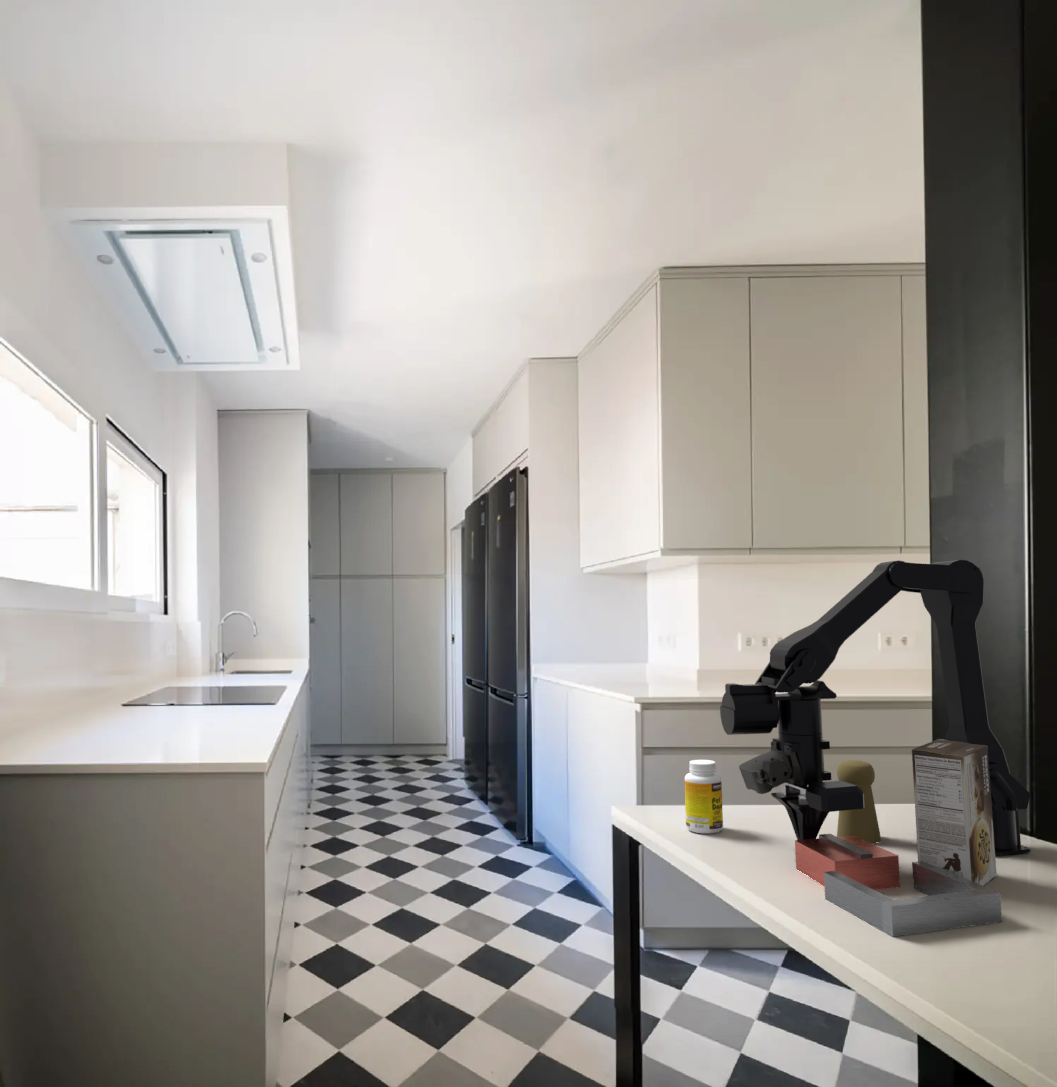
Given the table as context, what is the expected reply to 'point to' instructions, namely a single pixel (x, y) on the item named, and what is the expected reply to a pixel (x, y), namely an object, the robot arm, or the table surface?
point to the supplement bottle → (703, 798)
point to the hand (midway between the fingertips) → (805, 849)
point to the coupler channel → (918, 902)
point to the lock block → (848, 860)
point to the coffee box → (954, 808)
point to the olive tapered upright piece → (865, 819)
